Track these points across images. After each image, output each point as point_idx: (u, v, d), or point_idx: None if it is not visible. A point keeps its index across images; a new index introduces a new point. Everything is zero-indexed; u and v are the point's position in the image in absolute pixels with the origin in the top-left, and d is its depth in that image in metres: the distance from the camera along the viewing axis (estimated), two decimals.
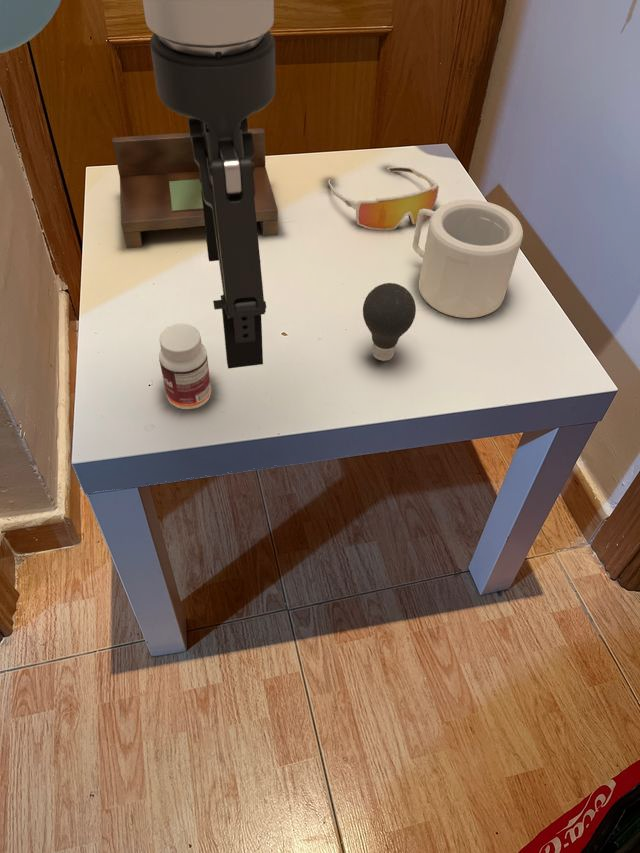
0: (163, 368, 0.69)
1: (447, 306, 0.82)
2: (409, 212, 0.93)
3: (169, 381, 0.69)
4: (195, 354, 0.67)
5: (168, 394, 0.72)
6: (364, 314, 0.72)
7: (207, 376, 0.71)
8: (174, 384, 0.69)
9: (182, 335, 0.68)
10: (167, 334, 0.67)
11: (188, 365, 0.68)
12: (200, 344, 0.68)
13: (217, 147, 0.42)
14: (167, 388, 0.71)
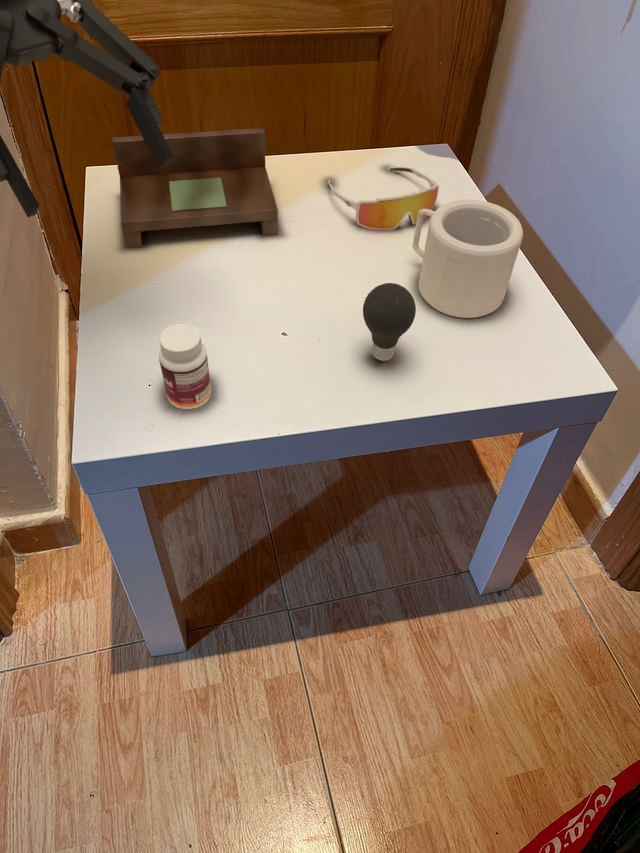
0: (163, 368, 0.69)
1: (447, 306, 0.82)
2: (409, 212, 0.93)
3: (169, 381, 0.69)
4: (195, 354, 0.67)
5: (168, 394, 0.72)
6: (364, 314, 0.72)
7: (207, 376, 0.71)
8: (174, 384, 0.69)
9: (182, 335, 0.68)
10: (167, 334, 0.67)
11: (188, 365, 0.68)
12: (200, 344, 0.68)
13: None
14: (167, 388, 0.71)
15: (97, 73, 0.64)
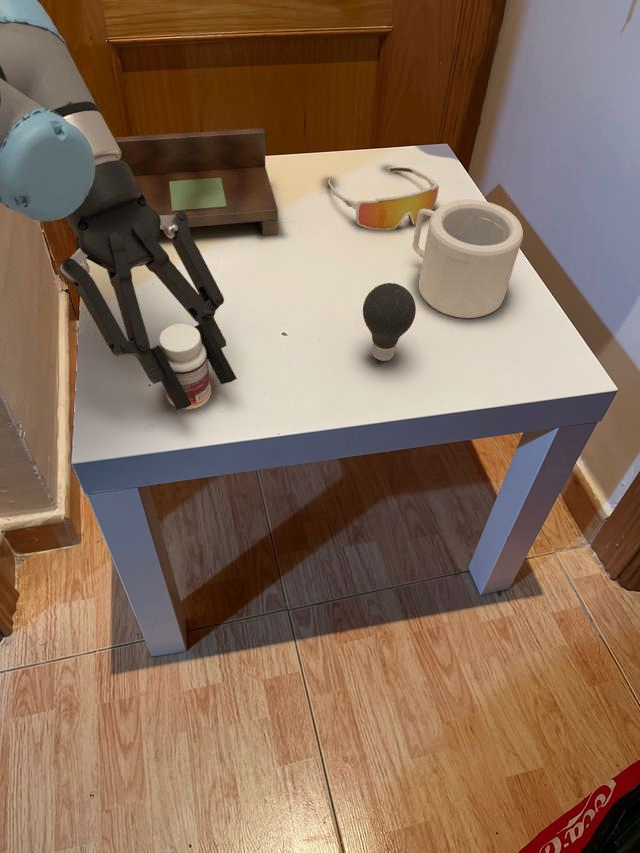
0: None
1: (447, 306, 0.82)
2: (409, 212, 0.93)
3: None
4: (195, 354, 0.67)
5: None
6: (364, 314, 0.72)
7: (207, 376, 0.71)
8: None
9: (182, 335, 0.67)
10: (167, 334, 0.67)
11: (187, 365, 0.68)
12: (200, 344, 0.68)
13: (154, 210, 0.67)
14: None
15: (172, 291, 0.69)
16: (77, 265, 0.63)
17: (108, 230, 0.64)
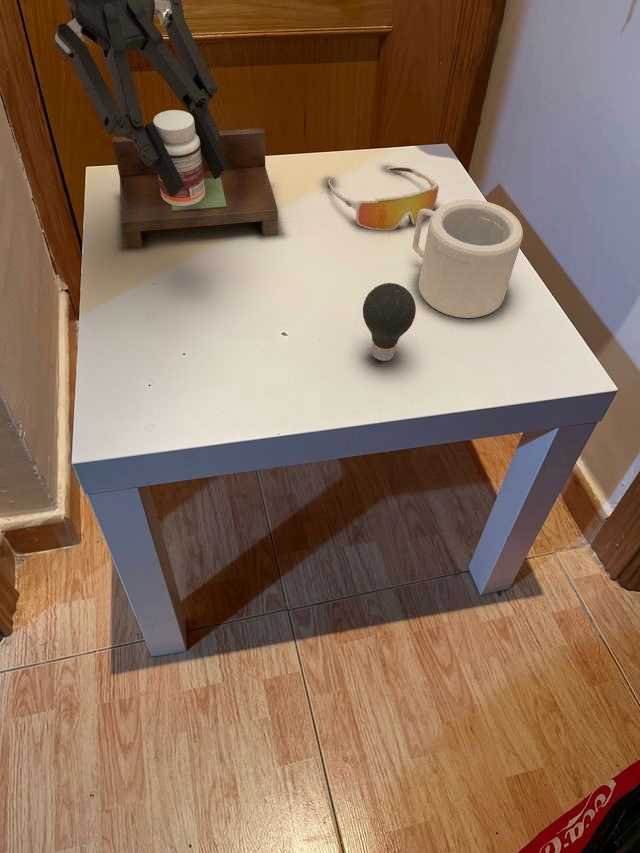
0: None
1: (447, 306, 0.82)
2: (409, 212, 0.93)
3: None
4: (188, 137, 0.68)
5: (162, 189, 0.72)
6: (364, 314, 0.72)
7: (201, 169, 0.72)
8: None
9: (176, 118, 0.68)
10: (161, 117, 0.68)
11: (181, 148, 0.68)
12: (193, 128, 0.68)
13: None
14: (161, 181, 0.72)
15: (167, 79, 0.70)
16: (72, 32, 0.63)
17: (102, 3, 0.65)
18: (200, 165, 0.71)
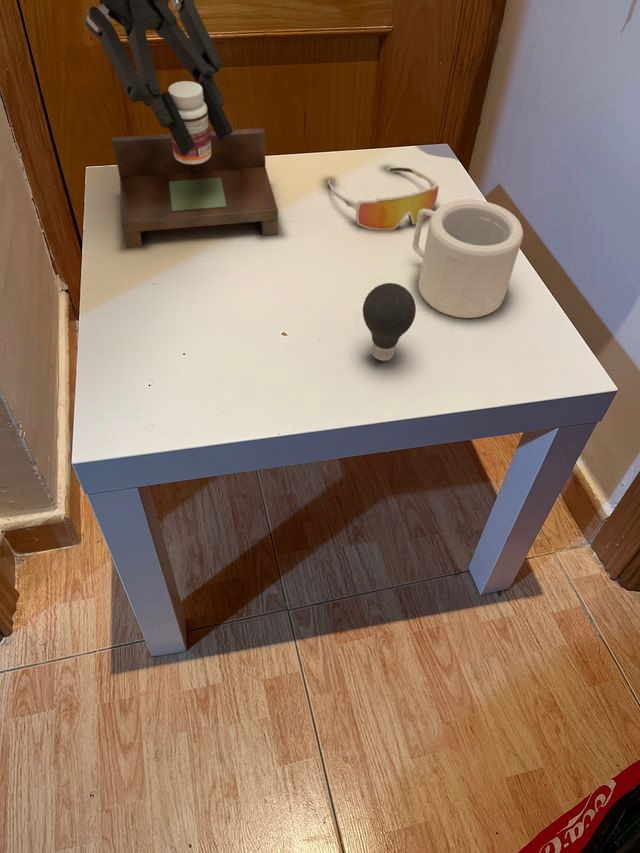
0: None
1: (447, 306, 0.82)
2: (409, 212, 0.93)
3: None
4: (198, 103, 0.81)
5: (175, 149, 0.85)
6: (364, 314, 0.72)
7: (208, 132, 0.84)
8: None
9: (187, 88, 0.81)
10: (174, 87, 0.81)
11: (192, 113, 0.81)
12: (202, 96, 0.81)
13: None
14: (174, 142, 0.84)
15: (179, 55, 0.82)
16: (101, 14, 0.76)
17: None
18: (207, 129, 0.84)
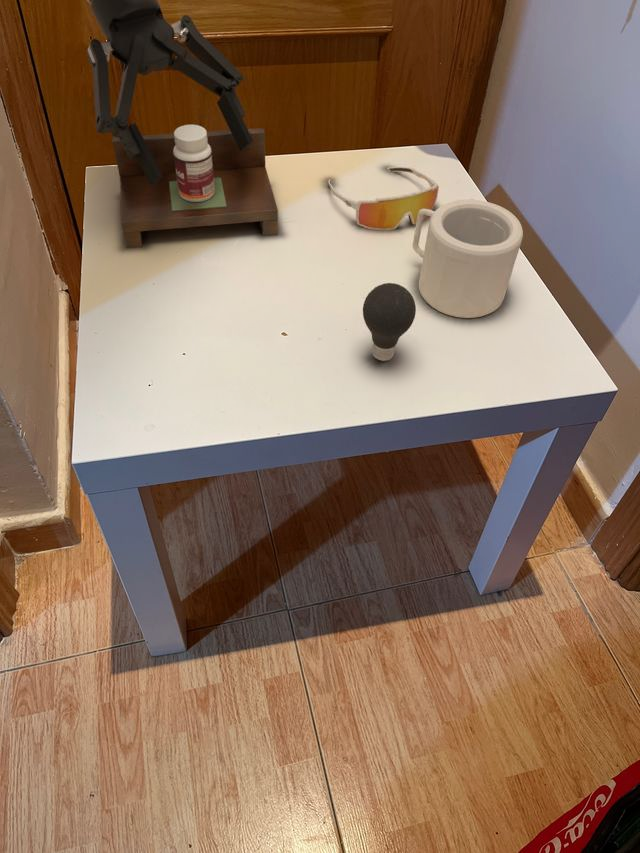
0: (176, 160, 0.86)
1: (447, 306, 0.82)
2: (409, 212, 0.93)
3: (181, 172, 0.87)
4: (202, 146, 0.85)
5: (180, 188, 0.89)
6: (364, 314, 0.72)
7: (211, 172, 0.88)
8: (185, 174, 0.87)
9: (192, 131, 0.85)
10: (180, 130, 0.85)
11: (196, 155, 0.85)
12: (206, 139, 0.85)
13: None
14: (179, 181, 0.88)
15: (197, 79, 0.86)
16: (101, 48, 0.79)
17: (133, 34, 0.81)
18: (211, 169, 0.88)
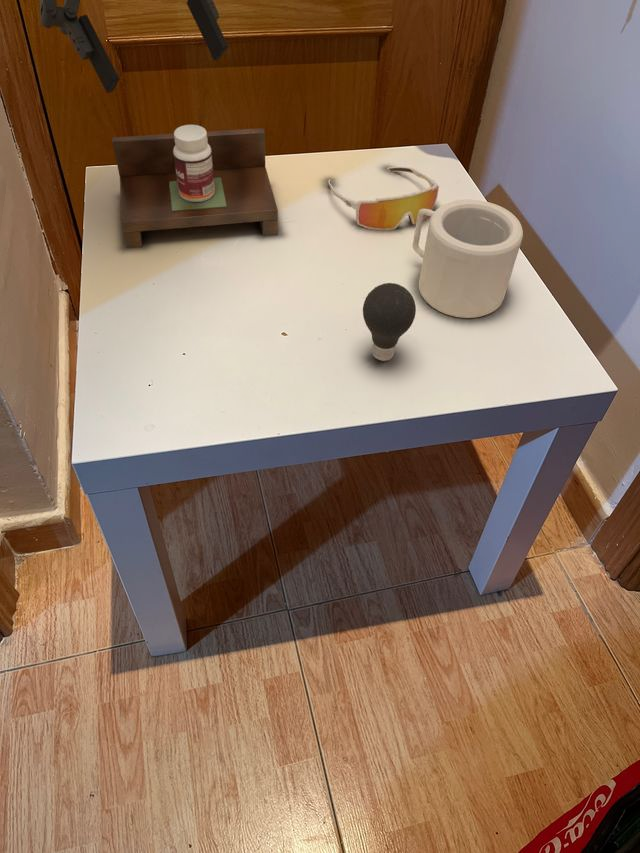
0: (176, 160, 0.86)
1: (447, 306, 0.82)
2: (409, 212, 0.93)
3: (181, 172, 0.87)
4: (202, 146, 0.85)
5: (180, 188, 0.89)
6: (364, 314, 0.72)
7: (211, 172, 0.88)
8: (185, 175, 0.87)
9: (192, 131, 0.85)
10: (180, 130, 0.85)
11: (196, 155, 0.85)
12: (206, 139, 0.85)
13: None
14: (179, 181, 0.88)
15: None
16: None
17: None
18: (211, 169, 0.88)
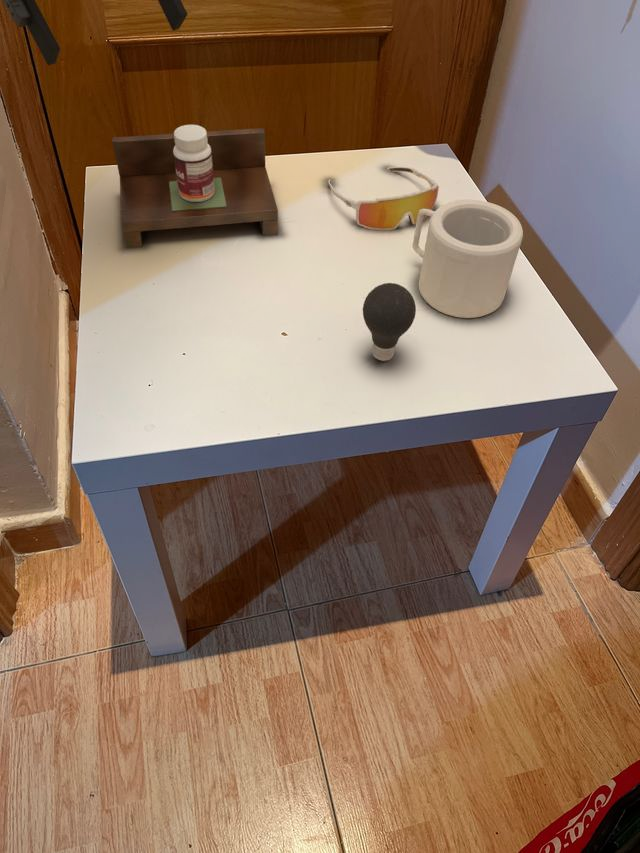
0: (176, 160, 0.86)
1: (447, 306, 0.82)
2: (409, 212, 0.93)
3: (181, 172, 0.87)
4: (202, 146, 0.85)
5: (180, 188, 0.89)
6: (364, 314, 0.72)
7: (211, 172, 0.88)
8: (185, 175, 0.87)
9: (192, 131, 0.85)
10: (180, 130, 0.85)
11: (196, 155, 0.85)
12: (206, 139, 0.85)
13: None
14: (179, 181, 0.88)
15: None
16: None
17: None
18: (211, 169, 0.88)
